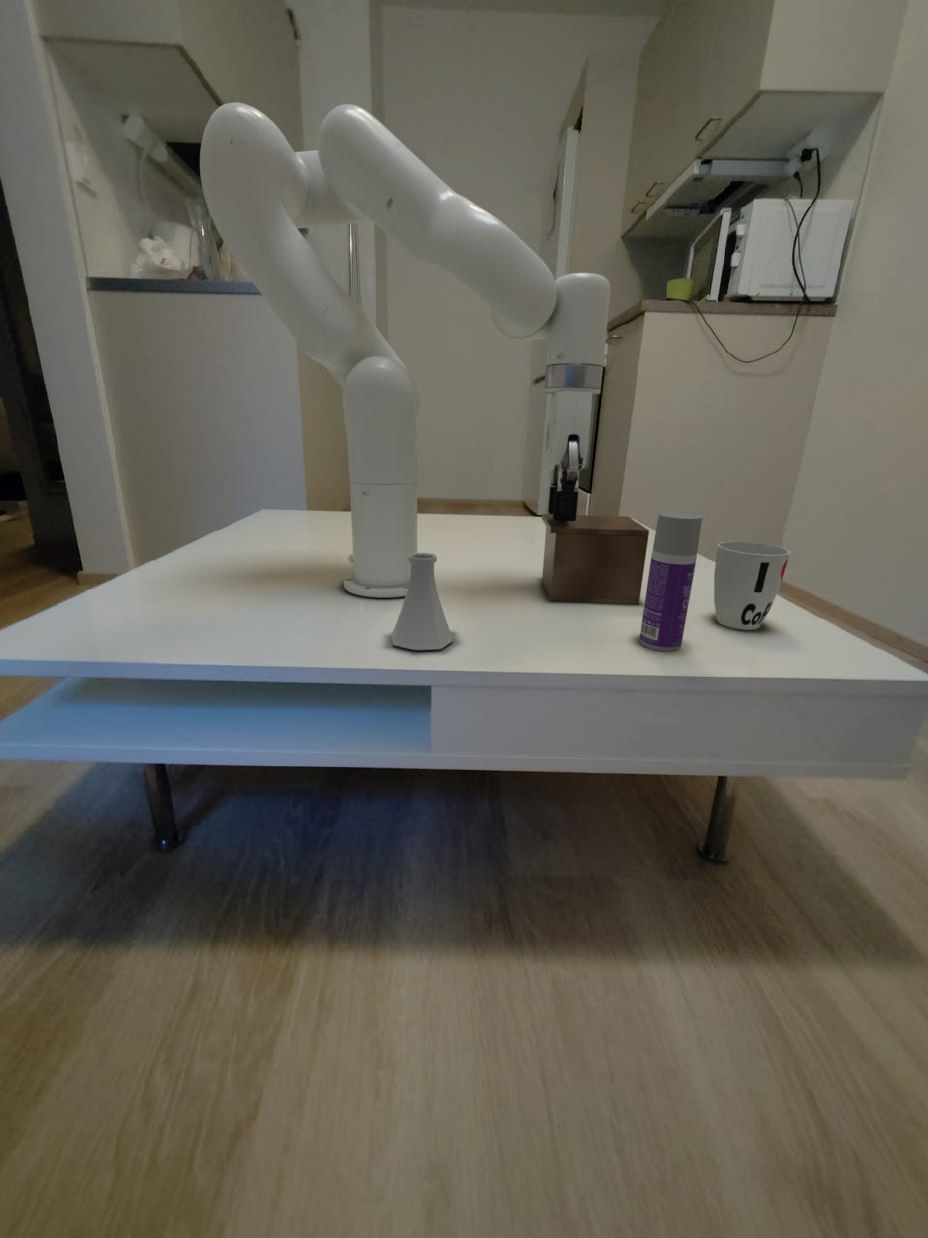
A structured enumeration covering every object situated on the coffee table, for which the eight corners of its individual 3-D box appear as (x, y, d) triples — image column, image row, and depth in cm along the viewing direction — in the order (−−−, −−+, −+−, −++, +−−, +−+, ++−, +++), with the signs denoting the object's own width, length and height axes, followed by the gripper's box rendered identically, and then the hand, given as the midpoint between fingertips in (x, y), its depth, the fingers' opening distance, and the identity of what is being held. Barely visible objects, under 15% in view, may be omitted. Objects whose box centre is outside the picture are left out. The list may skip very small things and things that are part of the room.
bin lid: (550, 533, 75) (553, 496, 73) (541, 518, 86) (544, 487, 84) (648, 536, 75) (653, 499, 73) (627, 521, 85) (631, 489, 84)
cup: (744, 638, 66) (761, 557, 63) (690, 617, 73) (703, 543, 70) (786, 628, 70) (804, 551, 67) (731, 609, 77) (745, 539, 73)
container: (684, 653, 61) (708, 519, 56) (641, 649, 62) (660, 517, 57) (677, 638, 66) (699, 513, 61) (637, 634, 67) (655, 510, 61)
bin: (550, 601, 78) (556, 533, 75) (542, 579, 89) (546, 519, 86) (638, 604, 78) (648, 536, 75) (619, 582, 89) (627, 521, 85)
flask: (382, 649, 60) (380, 561, 57) (400, 626, 67) (399, 546, 64) (447, 655, 59) (448, 565, 56) (458, 631, 66) (460, 550, 63)
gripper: (538, 385, 82) (530, 507, 88) (552, 376, 66) (541, 527, 72) (589, 386, 82) (577, 509, 88) (615, 377, 66) (598, 528, 72)
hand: (561, 515), depth 80 cm, fingers closed on bin lid, 5 cm apart
